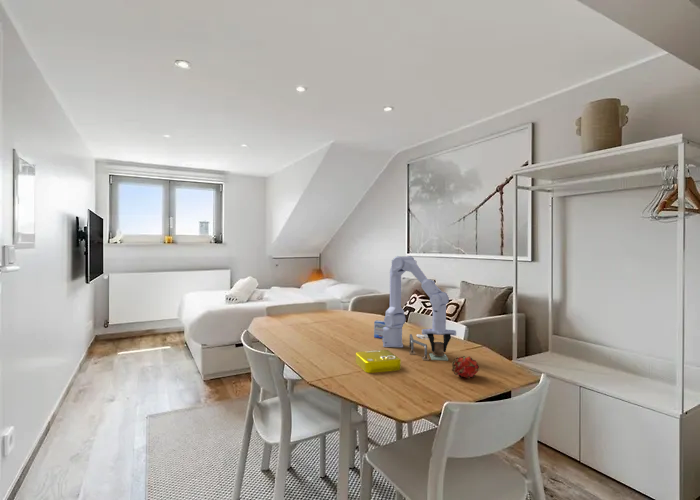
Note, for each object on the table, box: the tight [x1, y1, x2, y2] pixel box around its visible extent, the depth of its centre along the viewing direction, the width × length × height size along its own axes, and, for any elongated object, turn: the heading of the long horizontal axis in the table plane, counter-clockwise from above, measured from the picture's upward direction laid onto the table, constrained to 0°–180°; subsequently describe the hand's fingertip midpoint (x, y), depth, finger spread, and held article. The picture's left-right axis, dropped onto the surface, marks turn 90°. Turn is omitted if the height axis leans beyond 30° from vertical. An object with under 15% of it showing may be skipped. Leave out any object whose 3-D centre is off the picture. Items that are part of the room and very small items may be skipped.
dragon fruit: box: [451, 355, 480, 379], centre depth 139 cm, size 8×8×12 cm
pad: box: [428, 352, 449, 361], centre depth 162 cm, size 7×8×1 cm
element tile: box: [355, 349, 402, 374], centre depth 150 cm, size 15×15×5 cm
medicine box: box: [373, 319, 386, 339], centre depth 196 cm, size 8×4×9 cm, turn 73°
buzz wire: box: [407, 333, 430, 362], centre depth 168 cm, size 7×20×6 cm, turn 175°
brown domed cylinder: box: [432, 341, 445, 356], centre depth 162 cm, size 5×5×5 cm
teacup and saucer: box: [416, 333, 429, 340], centre depth 197 cm, size 9×8×4 cm
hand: (438, 351), depth 162 cm, fingers closed on brown domed cylinder, 4 cm apart
